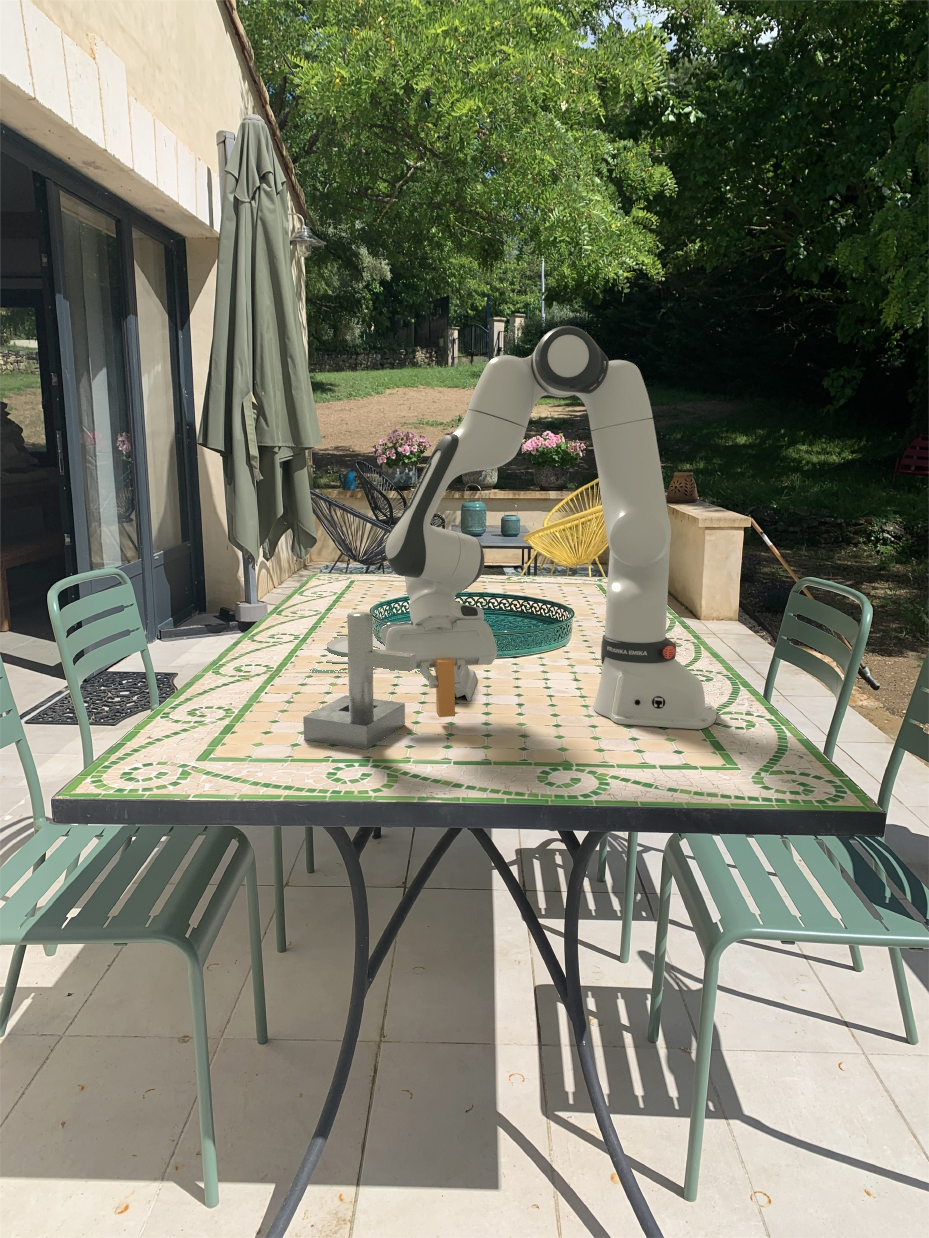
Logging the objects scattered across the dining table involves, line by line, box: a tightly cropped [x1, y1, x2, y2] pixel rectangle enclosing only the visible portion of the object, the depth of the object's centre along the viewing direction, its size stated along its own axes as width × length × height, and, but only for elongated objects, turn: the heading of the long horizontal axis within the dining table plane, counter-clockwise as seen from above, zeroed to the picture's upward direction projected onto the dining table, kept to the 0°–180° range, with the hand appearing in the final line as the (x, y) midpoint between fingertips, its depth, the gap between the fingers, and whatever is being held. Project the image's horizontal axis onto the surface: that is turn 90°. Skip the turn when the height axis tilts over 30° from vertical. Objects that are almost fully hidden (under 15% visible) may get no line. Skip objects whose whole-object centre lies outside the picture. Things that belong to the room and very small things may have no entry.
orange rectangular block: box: [435, 658, 456, 718], centre depth 159 cm, size 3×3×10 cm
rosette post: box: [302, 611, 416, 750], centre depth 152 cm, size 20×14×22 cm
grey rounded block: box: [433, 666, 478, 702], centre depth 182 cm, size 17×5×10 cm, turn 174°
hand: (446, 686), depth 158 cm, fingers closed on orange rectangular block, 3 cm apart
